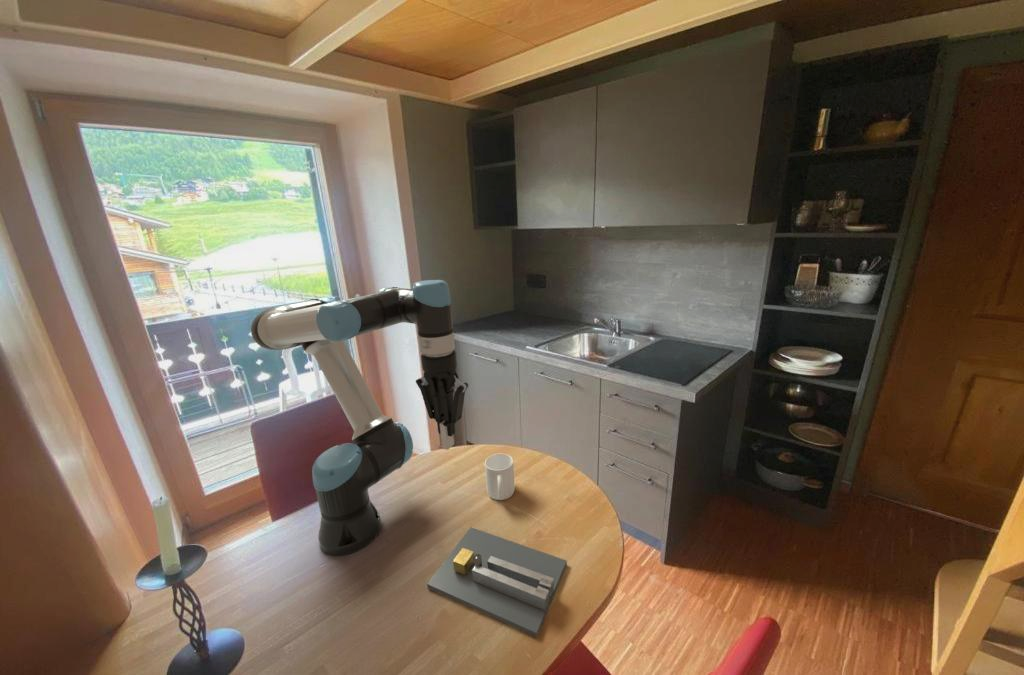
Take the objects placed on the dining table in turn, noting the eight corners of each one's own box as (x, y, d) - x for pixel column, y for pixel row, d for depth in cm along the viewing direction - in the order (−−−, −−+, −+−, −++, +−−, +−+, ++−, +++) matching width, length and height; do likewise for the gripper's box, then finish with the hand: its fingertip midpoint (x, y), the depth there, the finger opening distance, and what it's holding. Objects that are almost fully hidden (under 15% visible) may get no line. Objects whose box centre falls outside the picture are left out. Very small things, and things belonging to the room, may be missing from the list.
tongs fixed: (469, 580, 86) (468, 564, 85) (477, 568, 89) (475, 552, 88) (545, 611, 78) (544, 594, 77) (551, 597, 81) (550, 581, 80)
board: (427, 588, 86) (427, 583, 86) (470, 530, 101) (470, 527, 101) (536, 637, 75) (536, 632, 74) (566, 564, 90) (566, 560, 90)
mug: (516, 509, 108) (514, 477, 105) (486, 511, 108) (484, 479, 105) (513, 481, 120) (512, 452, 117) (487, 483, 119) (484, 454, 116)
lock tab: (454, 570, 88) (452, 560, 87) (463, 557, 92) (462, 547, 91) (465, 575, 87) (464, 565, 86) (474, 561, 90) (473, 551, 89)
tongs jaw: (486, 574, 87) (485, 563, 86) (491, 566, 89) (490, 555, 88) (550, 598, 81) (550, 587, 80) (554, 589, 83) (553, 578, 82)
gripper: (403, 354, 85) (416, 448, 92) (453, 360, 79) (462, 461, 86) (425, 344, 91) (435, 433, 98) (472, 349, 86) (480, 443, 92)
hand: (448, 446), depth 92 cm, fingers closed
